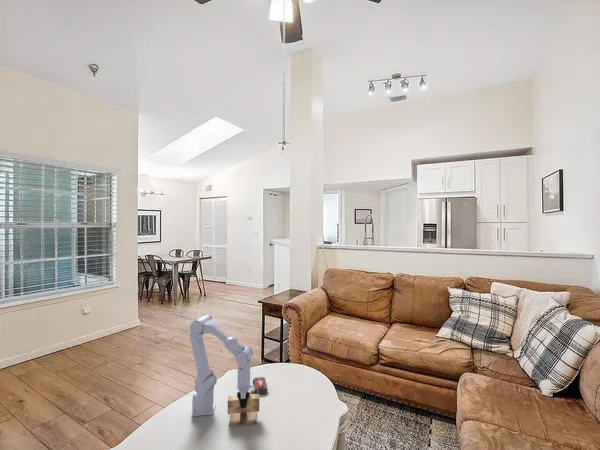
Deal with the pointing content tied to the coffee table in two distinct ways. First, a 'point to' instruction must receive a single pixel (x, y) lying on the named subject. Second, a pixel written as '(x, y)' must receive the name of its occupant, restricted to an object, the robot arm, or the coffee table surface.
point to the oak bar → (250, 406)
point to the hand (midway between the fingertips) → (243, 404)
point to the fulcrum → (243, 419)
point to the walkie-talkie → (258, 386)
